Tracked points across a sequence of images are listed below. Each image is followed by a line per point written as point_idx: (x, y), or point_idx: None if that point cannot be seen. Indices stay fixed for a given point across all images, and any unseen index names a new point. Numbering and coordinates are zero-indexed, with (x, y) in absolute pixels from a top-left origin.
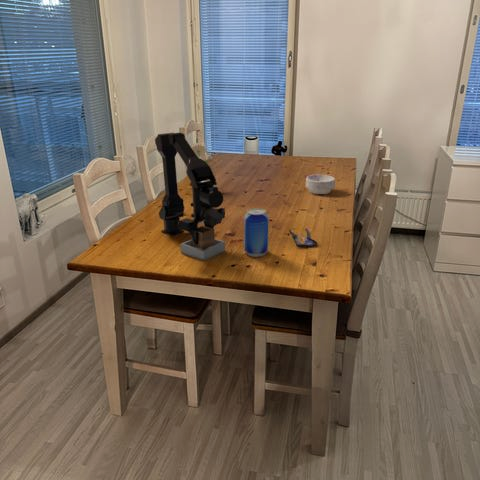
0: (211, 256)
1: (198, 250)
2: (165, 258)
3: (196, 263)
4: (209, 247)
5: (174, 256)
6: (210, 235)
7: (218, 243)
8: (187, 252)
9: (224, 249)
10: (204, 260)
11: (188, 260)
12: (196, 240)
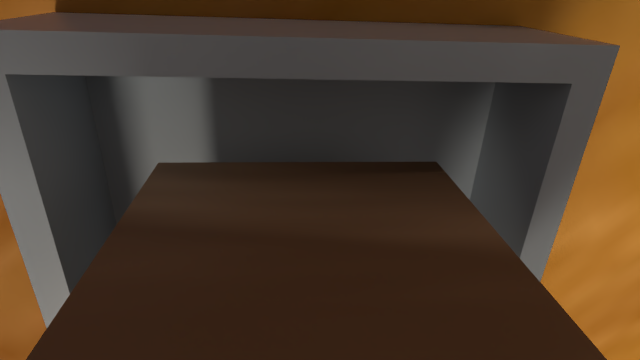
0: (373, 22)
1: (571, 165)
2: (607, 352)
3: (620, 53)
4: None
5: None
6: (244, 297)
7: (64, 155)
8: None
9: (60, 14)
10: (510, 26)
11: (575, 183)
12: None
